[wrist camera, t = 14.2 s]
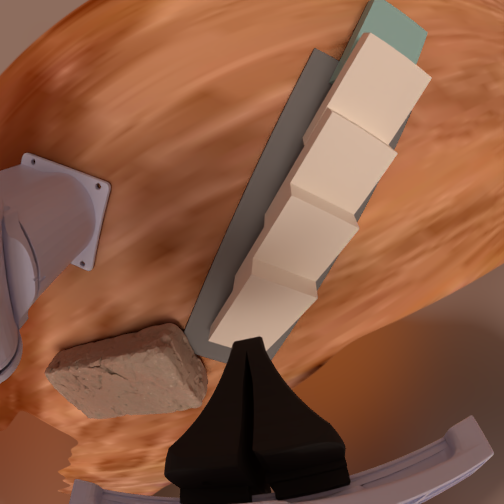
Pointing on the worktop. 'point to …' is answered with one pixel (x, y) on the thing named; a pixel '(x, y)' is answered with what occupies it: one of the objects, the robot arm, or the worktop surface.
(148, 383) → the brick
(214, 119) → the worktop surface
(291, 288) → the ivory domino
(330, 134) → the ivory domino
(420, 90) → the ivory domino
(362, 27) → the teal domino
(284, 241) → the ivory domino
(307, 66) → the mat
